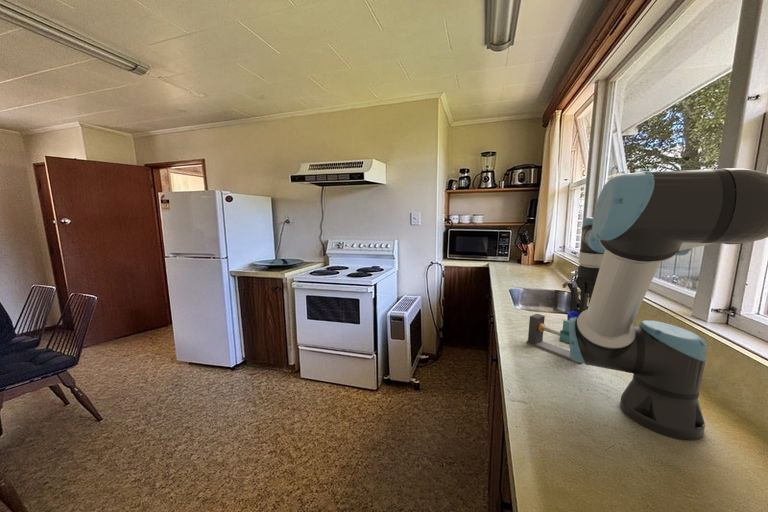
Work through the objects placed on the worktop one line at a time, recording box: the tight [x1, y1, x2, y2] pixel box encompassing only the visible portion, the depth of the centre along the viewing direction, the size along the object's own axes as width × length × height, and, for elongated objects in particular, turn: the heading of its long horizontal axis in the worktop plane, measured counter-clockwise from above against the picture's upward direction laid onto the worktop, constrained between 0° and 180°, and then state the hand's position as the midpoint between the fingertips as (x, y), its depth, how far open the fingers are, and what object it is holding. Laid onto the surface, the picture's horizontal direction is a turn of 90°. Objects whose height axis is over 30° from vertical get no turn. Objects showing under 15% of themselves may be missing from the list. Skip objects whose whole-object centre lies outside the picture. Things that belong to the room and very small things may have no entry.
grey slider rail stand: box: [525, 313, 583, 365], centre depth 106 cm, size 19×5×11 cm, turn 34°
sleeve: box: [558, 319, 570, 346], centre depth 102 cm, size 4×4×8 cm
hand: (584, 334), depth 99 cm, fingers closed
